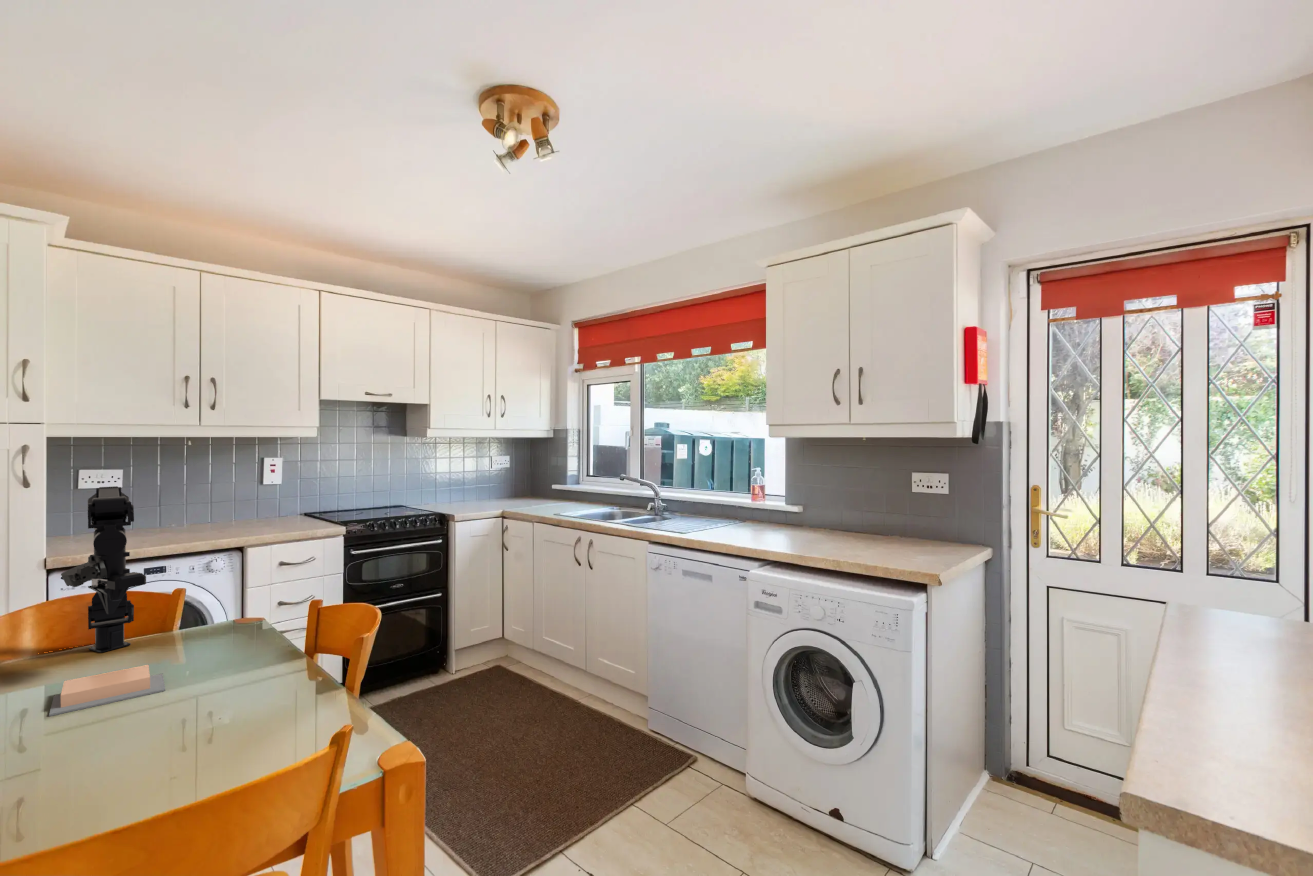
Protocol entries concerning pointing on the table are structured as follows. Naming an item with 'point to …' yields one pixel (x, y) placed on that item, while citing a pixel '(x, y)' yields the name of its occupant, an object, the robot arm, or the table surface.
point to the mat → (155, 687)
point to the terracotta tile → (105, 685)
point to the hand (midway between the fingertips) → (110, 613)
